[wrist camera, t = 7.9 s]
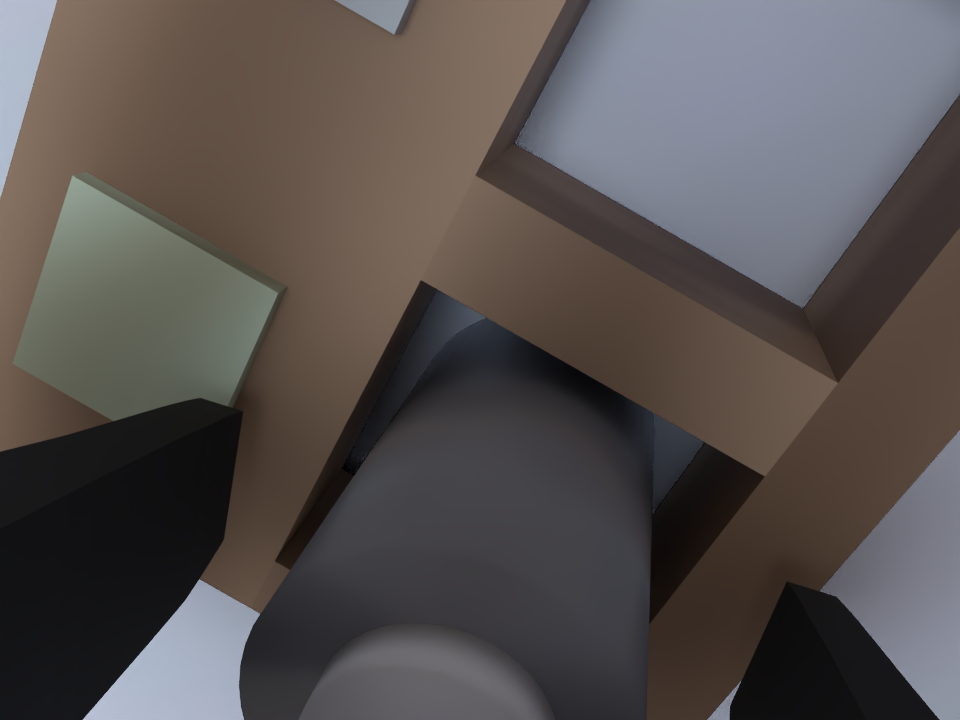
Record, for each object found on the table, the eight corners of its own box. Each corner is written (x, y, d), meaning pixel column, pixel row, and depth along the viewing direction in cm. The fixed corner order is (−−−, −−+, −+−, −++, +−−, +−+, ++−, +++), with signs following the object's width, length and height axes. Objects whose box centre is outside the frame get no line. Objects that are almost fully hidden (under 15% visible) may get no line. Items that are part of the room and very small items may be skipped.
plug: (686, 349, 14) (706, 674, 7) (615, 557, 16) (576, 989, 9) (442, 282, 15) (237, 528, 8) (397, 491, 16) (192, 856, 9)
